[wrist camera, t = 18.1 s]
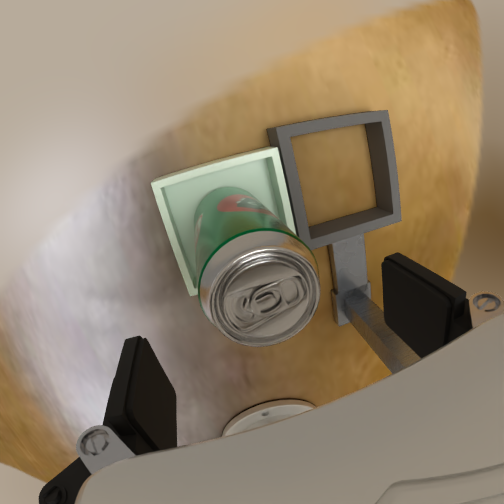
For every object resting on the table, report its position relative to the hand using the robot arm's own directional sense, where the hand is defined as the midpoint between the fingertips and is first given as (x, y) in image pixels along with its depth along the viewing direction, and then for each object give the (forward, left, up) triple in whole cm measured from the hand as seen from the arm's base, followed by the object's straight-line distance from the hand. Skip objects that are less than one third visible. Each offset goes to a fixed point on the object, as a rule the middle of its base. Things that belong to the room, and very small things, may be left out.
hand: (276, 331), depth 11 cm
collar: (+2, -9, -13) cm, 16 cm away
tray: (+1, 0, -13) cm, 13 cm away
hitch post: (-7, -9, -13) cm, 18 cm away
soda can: (+1, 0, -13) cm, 13 cm away
